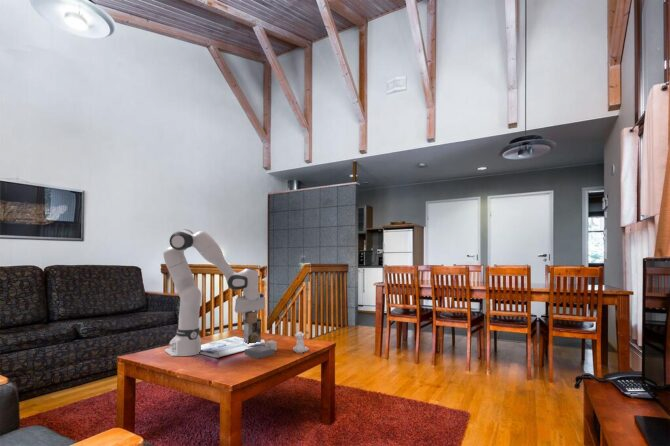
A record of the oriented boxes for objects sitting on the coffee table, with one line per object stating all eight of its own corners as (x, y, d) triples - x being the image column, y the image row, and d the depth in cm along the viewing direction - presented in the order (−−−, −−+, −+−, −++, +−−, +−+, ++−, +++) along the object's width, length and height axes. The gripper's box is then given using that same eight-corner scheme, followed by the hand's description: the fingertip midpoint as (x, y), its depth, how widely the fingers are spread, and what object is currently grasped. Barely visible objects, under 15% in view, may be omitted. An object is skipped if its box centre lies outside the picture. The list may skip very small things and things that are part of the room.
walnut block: (242, 322, 222) (242, 312, 223) (250, 321, 227) (250, 311, 228) (248, 323, 219) (249, 313, 219) (256, 322, 223) (257, 312, 224)
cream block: (264, 350, 225) (265, 341, 225) (271, 348, 229) (271, 340, 229) (270, 351, 222) (270, 343, 222) (276, 350, 226) (276, 341, 226)
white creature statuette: (308, 350, 226) (309, 330, 227) (307, 354, 218) (307, 333, 219) (293, 350, 227) (293, 329, 227) (291, 353, 218) (291, 332, 219)
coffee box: (256, 342, 242) (256, 317, 243) (260, 344, 237) (261, 319, 239) (243, 345, 236) (243, 319, 238) (247, 347, 232) (248, 320, 233)
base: (244, 354, 214) (244, 349, 215) (261, 350, 224) (261, 345, 224) (258, 358, 207) (258, 352, 207) (274, 354, 216) (274, 348, 216)
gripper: (239, 297, 214) (238, 321, 213) (266, 294, 230) (266, 317, 229) (232, 296, 218) (232, 320, 217) (260, 293, 234) (259, 316, 233)
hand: (249, 318), depth 223 cm, fingers closed on walnut block, 6 cm apart
